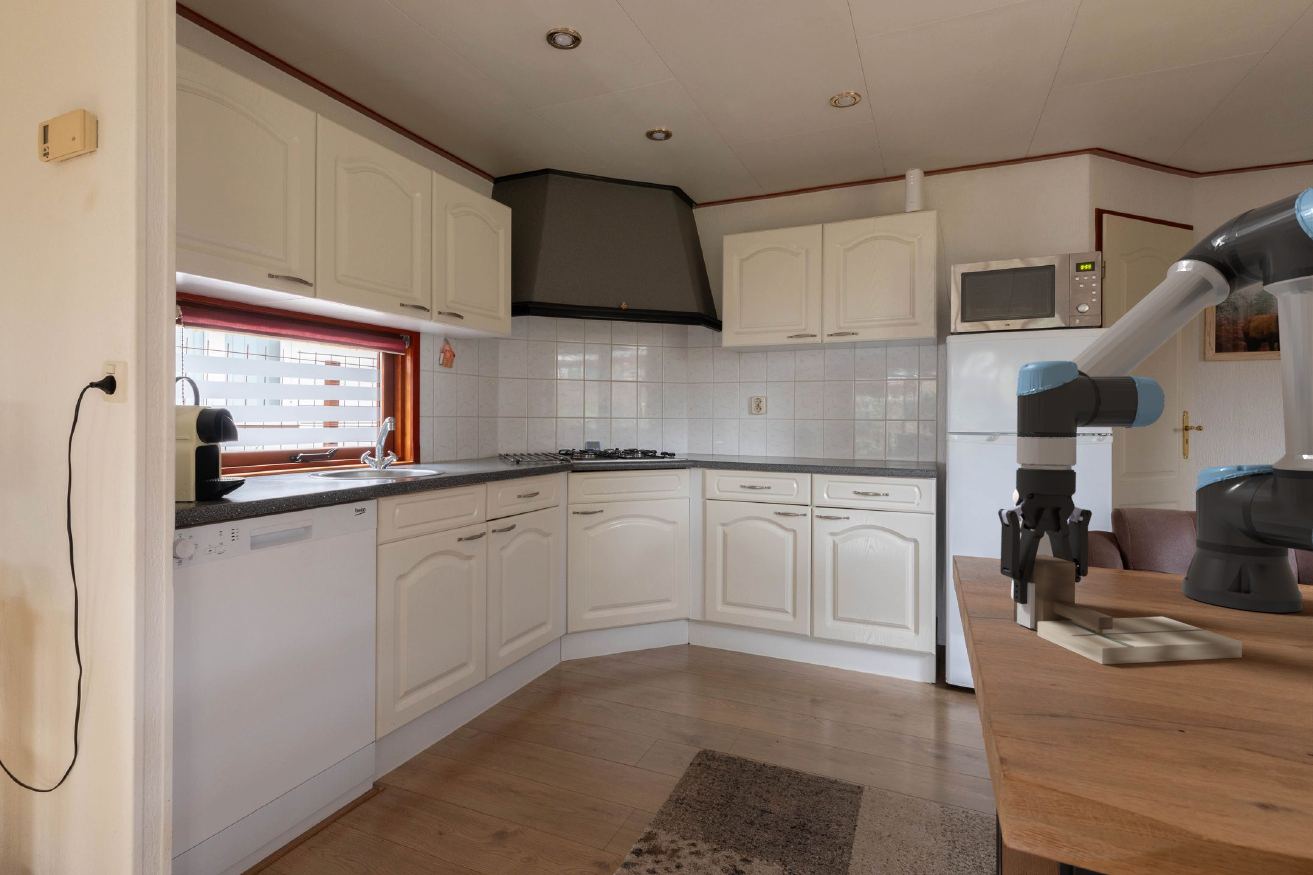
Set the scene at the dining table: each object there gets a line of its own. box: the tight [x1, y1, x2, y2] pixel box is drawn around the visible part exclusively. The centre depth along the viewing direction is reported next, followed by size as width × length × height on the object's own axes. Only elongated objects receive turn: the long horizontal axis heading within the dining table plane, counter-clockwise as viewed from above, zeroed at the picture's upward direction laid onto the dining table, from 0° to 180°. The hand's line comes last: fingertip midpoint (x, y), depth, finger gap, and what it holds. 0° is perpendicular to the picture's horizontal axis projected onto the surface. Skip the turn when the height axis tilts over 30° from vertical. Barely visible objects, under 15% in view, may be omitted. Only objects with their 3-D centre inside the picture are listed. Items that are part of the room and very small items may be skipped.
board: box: [1037, 616, 1243, 665], centre depth 86 cm, size 20×11×2 cm, turn 98°
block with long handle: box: [1013, 555, 1114, 633], centre depth 90 cm, size 5×14×10 cm, turn 8°
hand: (1043, 624), depth 94 cm, fingers closed on block with long handle, 5 cm apart
